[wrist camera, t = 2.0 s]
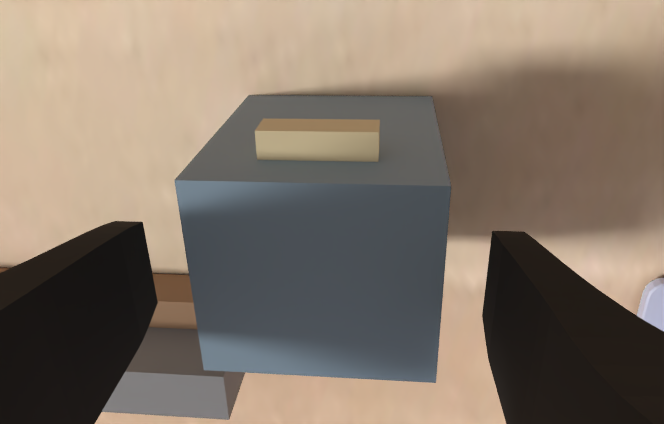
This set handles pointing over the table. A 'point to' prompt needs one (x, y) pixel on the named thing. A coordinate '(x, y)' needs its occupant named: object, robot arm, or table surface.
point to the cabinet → (319, 237)
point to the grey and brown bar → (173, 364)
